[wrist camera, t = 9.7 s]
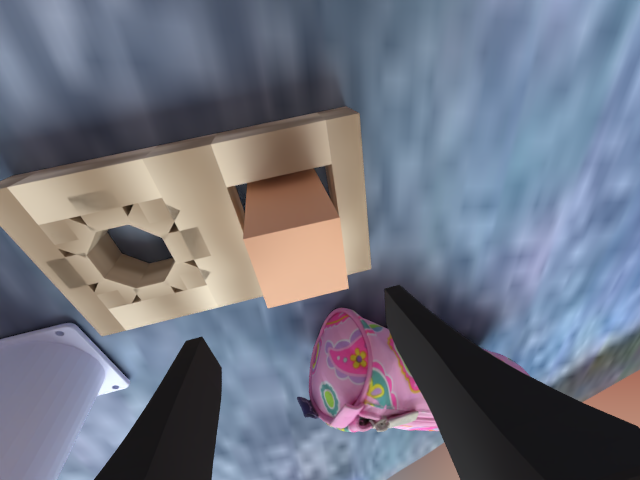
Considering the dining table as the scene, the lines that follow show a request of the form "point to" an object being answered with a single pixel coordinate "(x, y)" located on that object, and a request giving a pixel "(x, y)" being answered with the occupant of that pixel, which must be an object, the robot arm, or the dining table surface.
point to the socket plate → (177, 216)
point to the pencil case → (365, 379)
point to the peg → (294, 238)
